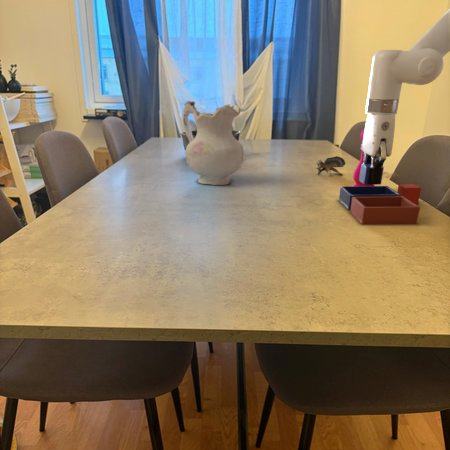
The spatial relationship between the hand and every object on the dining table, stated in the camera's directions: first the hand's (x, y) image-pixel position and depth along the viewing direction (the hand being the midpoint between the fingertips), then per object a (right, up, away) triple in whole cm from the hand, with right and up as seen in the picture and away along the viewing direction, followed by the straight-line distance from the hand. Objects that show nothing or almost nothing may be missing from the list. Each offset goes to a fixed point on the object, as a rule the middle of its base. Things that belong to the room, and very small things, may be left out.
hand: (370, 181), depth 115 cm
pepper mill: (+4, +2, +18) cm, 19 cm away
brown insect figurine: (-1, +13, +39) cm, 42 cm away
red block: (+12, -4, +6) cm, 14 cm away
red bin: (0, -11, -8) cm, 13 cm away
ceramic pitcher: (-43, +9, +32) cm, 54 cm away
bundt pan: (-45, +33, +78) cm, 96 cm away
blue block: (0, 0, 0) cm, 0 cm away
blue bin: (0, -6, +3) cm, 7 cm away
